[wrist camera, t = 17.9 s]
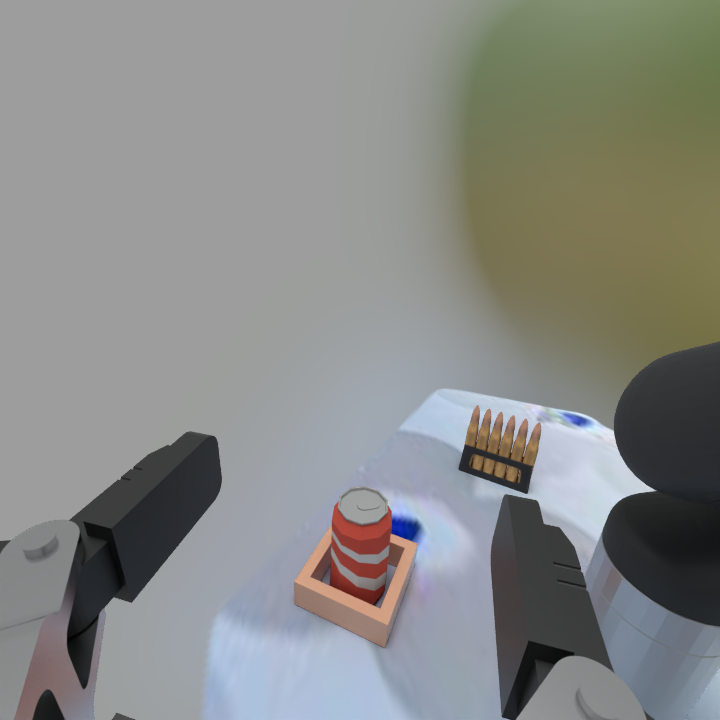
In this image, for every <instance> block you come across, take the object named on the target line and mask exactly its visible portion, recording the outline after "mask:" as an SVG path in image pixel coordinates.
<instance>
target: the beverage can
mask: <svg viewBox="0 0 720 720" xmlns="http://www.w3.org/2000/svg"><path fill="white" fill-rule="evenodd" d="M391 527H392V511H391V510H390V508H389V507H388V500H387V499H386V498H385V497H384V496H383V495H382V494H381V493H380V491H378V490H375V489H372V488H369V487H366V486H362V487H354V488H349V489H348V490H347V491H346V492H344V493H343V494H342V495H340V498H339V502H338V503H337V504H336V505H335V506H334V512H333V518H332V538H331V573H330V586H331V587H333V588H336V589H338V590H340V591H342V592H345V593H347V594H349V595H351V596H353V597H356V598H358V599H360V600H362V601H364V602H367V603H369V604H374V603H375V602H376V600H377V599H378V598H379V597H380V596H381V595H382V593H383V592H384V591H385V582H386V573H387V564H388V555H389V545H390V536H391Z"/></svg>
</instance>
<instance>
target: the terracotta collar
mask: <svg viewBox="0 0 720 720" xmlns="http://www.w3.org/2000/svg"><path fill="white" fill-rule="evenodd" d="M331 538H332V525H331V526H330V528H329V529H328V531H327V532H326V534H325V536H324V537H323V539H322V540H321V542H320V543H319V545H318V546H317V548H316V549H315V551H314V552H313V554H312V555H311V557H310V558H309V560H308V561H307V563H306V564H305V566H304V568H303V569H302V571H301V572H300V574H299V575H298V577H297V578H296V580H295V581H294V594H295V604H296V605H298V606H300V607H302V608H304V609H306V610H308V611H310V612H312V613H314V614H316V615H318V616H320V617H322V618H324V619H326V620H328V621H331V622H333V623H335V624H337V625H339V626H341V627H343V628H345V629H347V630H349V631H351V632H353V633H355V634H357V635H359V636H361V637H363V638H365V639H367V640H369V641H371V642H374V643H376V644H378V645H380V646H382V647H384V648H385V646H386V644H387V641H388V638H389V635H390V633H391V630H392V627H393V624H394V621H395V619H396V616H397V613H398V610H399V607H400V605H401V602H402V599H403V596H404V593H405V591H406V588H407V585H408V582H409V580H410V577H411V574H412V571H413V568H414V566H415V560H416V553H417V546H418V544H417V543H414V542H411V541H409V540H406V539H403V538H401V537H398V536H395V535H393V534H391V536H390V545H389V555H388V563H389V564H391V565H393V566H396V567H397V569H396V571H395V574H394V576H393V579H392V581H391V584H390V586H389V589H388V591H387V594H386V596H385V599H384V601H383V604H382V606H381V609H380V608H378V607H375V606H373V605H371V604H369V603H367V602H364V601H362V600H360V599H358V598H356V597H353V596H351V595H349V594H347V593H345V592H342V591H340V590H338V589H336V588H333V587H331V586H329V585H327V584H325V583H322V582H320V581H321V580H322V578H323V576H324V575H325V573H326V571H327V569H328V568H329V566H330V564H331Z"/></svg>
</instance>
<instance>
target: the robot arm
mask: <svg viewBox="0 0 720 720" xmlns="http://www.w3.org/2000/svg"><path fill="white" fill-rule="evenodd" d="M614 435H615V439H616V444H617V447H618V450H619V452H620V455H621V457H622V458H623V460H624V462H625V463H626V465H627V466H628V468H629V469H630V470H631V471H632V472H633V474H634V475H635V476H636V477H637V478H639V479H640V480H641V481H642V482H644V483H645V484H646V485H648V486H649V487H651V488H653V489H655V490H657V491H654V492H645V493H638V494H634V495H630V496H628V497H625V498H623V499H622V500H620V501H619V502H618V503H617V504H616V505H615V506H614V507H613V508H612V510H611V511H610V513H609V515H608V518H607V520H606V523H605V526H604V528H603V531H602V533H601V536H600V538H599V541H598V543H597V546H596V548H595V551H594V553H593V556H592V559H591V561H590V564H589V566H588V569H587V571H586V574H585V576H583V573H582V572H581V566H580V563H579V560H578V557H577V554H576V550H575V547H574V546H573V545H572V543H571V542H570V541H569V539H568V538H567V537H566V535H565V534H564V533H563V531H562V530H561V529H560V527H555V526H550V525H546V524H544V523H543V519H542V515H541V511H540V506H539V503H538V501H536V500H532V499H527V498H522V497H517V496H512V495H507V494H505V495H504V497H503V500H502V504H501V508H500V512H499V516H498V520H497V524H496V528H495V532H494V536H493V541H492V547H491V575H492V589H493V603H494V616H495V630H496V644H497V658H498V671H499V685H500V699H501V713H502V717H503V718H506V719H510V720H684V719H685V717H686V716H687V715H688V713H689V712H690V710H691V709H692V707H693V706H694V704H695V703H696V701H697V700H698V699H699V697H700V696H701V694H702V693H703V691H704V690H705V688H706V687H707V685H708V684H709V683H710V681H711V680H712V678H713V677H714V675H715V674H716V672H717V671H718V669H719V668H720V342H716V343H712V344H708V345H704V346H700V347H696V348H691V349H687V350H683V351H679V352H675V353H672V354H669V355H666V356H663V357H661V358H659V359H657V360H655V361H653V362H652V363H650V364H649V365H648V366H646V367H645V368H644V369H642V371H640V372H639V373H638V374H637V375H636V376H635V377H634V378H633V379H632V381H631V382H630V384H629V385H628V386H627V388H626V389H625V390H624V392H623V394H622V396H621V398H620V400H619V403H618V406H617V409H616V413H615V417H614ZM221 483H222V476H221V467H220V459H219V449H218V442H217V439H216V437H214V436H211V435H206V434H201V433H195V432H186V433H185V434H184V435H183V436H181V437H180V438H179V439H178V440H177V441H176V442H174V443H173V444H172V445H171V446H169V445H167V446H165V447H163V448H161V449H159V450H157V451H155V452H153V453H150V454H148V455H147V456H146V457H145V458H144V459H143V460H141V461H140V462H139V463H138V464H136V465H135V466H134V468H133V470H132V469H130V470H129V471H128V472H127V473H126V474H124V475H123V476H122V477H121V479H120V480H117V481H116V482H115V483H113V484H112V485H111V486H110V487H109V488H107V489H106V490H105V491H104V492H103V493H101V494H100V495H99V496H98V497H97V498H95V499H94V500H93V501H92V502H91V503H89V504H88V505H87V506H86V507H85V508H83V509H82V510H81V511H80V512H78V513H77V514H76V515H75V516H74V517H72V518H71V519H70V520H69V521H68V520H54V521H49V522H45V523H42V524H39V525H36V526H34V527H32V528H29V529H28V530H26V531H24V532H23V533H21V534H19V535H18V536H16V537H15V538H14V539H12V540H9V541H0V720H95V718H94V692H95V686H96V679H97V672H98V665H99V659H100V652H101V645H102V638H103V631H104V625H105V617H106V613H105V609H104V608H105V606H106V605H107V604H108V603H109V602H110V601H111V599H112V598H113V597H115V598H118V599H121V600H125V601H128V602H131V603H132V602H133V600H134V599H135V598H136V597H137V595H138V594H139V593H140V592H141V590H142V589H143V588H144V587H145V586H146V584H147V583H148V582H149V581H150V579H151V578H152V577H153V576H154V575H155V573H156V572H157V571H158V570H159V568H160V567H161V566H162V565H163V563H164V562H165V561H166V560H167V558H168V557H169V556H170V555H171V554H172V552H173V551H174V550H175V549H176V547H177V546H178V545H179V544H180V542H181V541H182V540H183V539H184V538H185V536H186V535H187V534H188V533H189V531H190V530H191V529H192V528H193V526H194V525H195V524H196V522H197V521H198V520H199V519H200V518H201V516H202V515H203V514H204V513H205V511H206V510H207V509H208V508H209V507H210V505H211V504H212V503H213V502H214V500H215V499H216V497H217V495H218V493H219V491H220V488H221ZM112 720H135V719H132V718H129V717H126V716H124V715H121V714H118V713H116V715H115V716H114V718H113V719H112Z"/></svg>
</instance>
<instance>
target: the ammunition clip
mask: <svg viewBox="0 0 720 720" xmlns="http://www.w3.org/2000/svg"><path fill="white" fill-rule="evenodd" d="M479 417H480V410H479V406H478V405H477V406H476V408H475V409H474V411H473V414H472V418H471V421H470V425H469V427H468V431H467V436H466V441H465V446H464V450H463V454H462V458H461V462H460V465H459V470H460V471H463V472H466V473H469V474H472V475H474V476H477V477H480V478H483V479H486V480H489V481H491V482H494V483H497V484H500V485H503V486H506V487H508V488H511V489H514V490H517V491H520V492H522V493H525V494H527V493H528V488H529V484H530V479H531V475H532V471H533V468H534V464H535V460H536V457H537V453H538V445H539V440H540V435H541V424H540V423H538V424H537V425H536V426H535V428H534V430H533V432H532V435H531V438H530V440H529V443H528V445H527V447H526V451H525V454H524V450H525V446H526V436H527V431H528V421H527V419H525V420H524V421H523V423H522V424H521V426H520V429H519V432H518V435H517V438H516V440H515V442H514V445H513V435H514V429H515V417H514V415H513V416H512V417H511V418H510V420H509V421H508V424H507V427H506V430H505V433H504V436H503V438H502V441H501V432H502V426H503V414H502V412H500V413H499V414H498V416H497V418H496V421H495V424H494V427H493V431H492V433H491V435H490V424H491V410H490V409H488V410H487V411H486V413H485V415H484V418H483V422H482V425H481V429H480V431H479V434H478V425H479ZM489 435H490V439H489ZM477 436H478V439H477ZM488 440H489V444H488ZM476 441H477V442H476ZM500 442H501V445H500ZM512 445H513V449H512ZM499 446H500V449H499ZM511 449H512V453H511ZM523 454H524V457H523ZM473 456H474V458H473ZM484 459H485V461H484ZM496 461H497V462H496ZM483 464H484V465H483ZM495 464H496V466H495ZM507 465H508V469H507ZM494 468H495V469H494ZM506 470H507V473H506ZM519 470H520V473H519ZM518 474H519V476H518Z"/></svg>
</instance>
